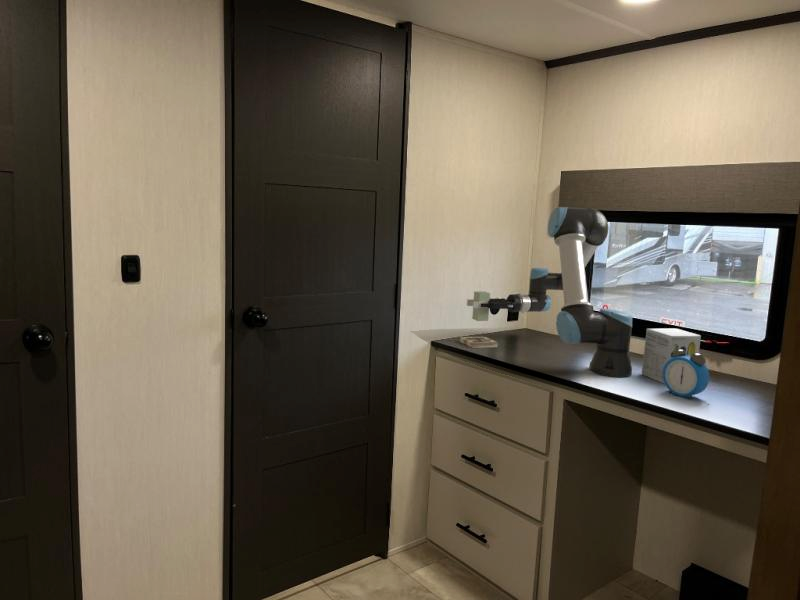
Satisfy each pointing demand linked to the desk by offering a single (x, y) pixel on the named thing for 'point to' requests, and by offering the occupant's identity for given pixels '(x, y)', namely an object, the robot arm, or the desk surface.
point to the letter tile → (478, 342)
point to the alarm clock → (686, 373)
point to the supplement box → (666, 349)
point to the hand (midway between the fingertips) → (470, 303)
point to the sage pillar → (481, 313)
